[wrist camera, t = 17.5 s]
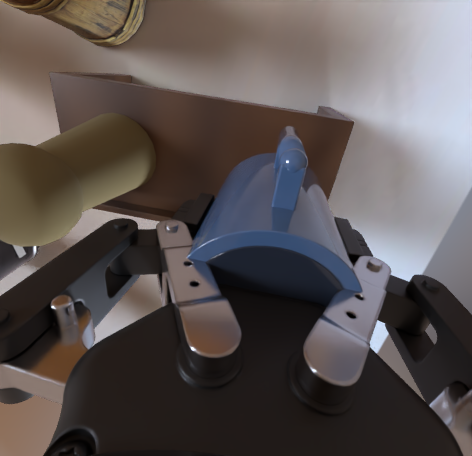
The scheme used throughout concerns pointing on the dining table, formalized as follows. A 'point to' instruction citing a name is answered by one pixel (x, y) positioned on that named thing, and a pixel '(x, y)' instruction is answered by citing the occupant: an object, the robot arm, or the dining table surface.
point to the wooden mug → (90, 17)
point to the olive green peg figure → (70, 177)
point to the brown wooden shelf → (195, 136)
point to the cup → (275, 229)
